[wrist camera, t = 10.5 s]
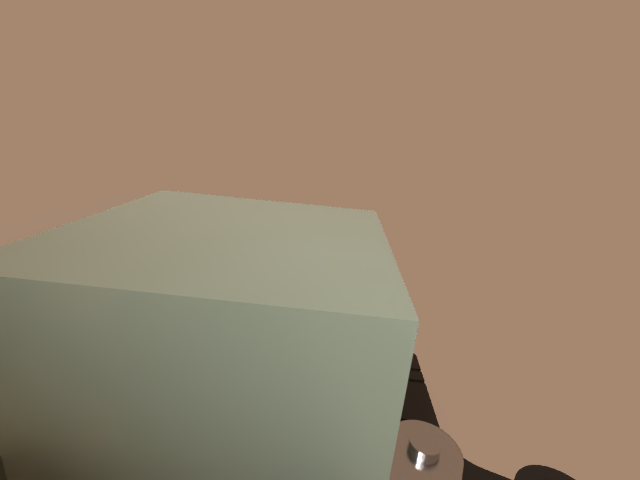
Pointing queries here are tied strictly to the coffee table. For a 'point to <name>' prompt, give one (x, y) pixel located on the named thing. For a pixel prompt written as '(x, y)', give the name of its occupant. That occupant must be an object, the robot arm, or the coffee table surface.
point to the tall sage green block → (204, 344)
